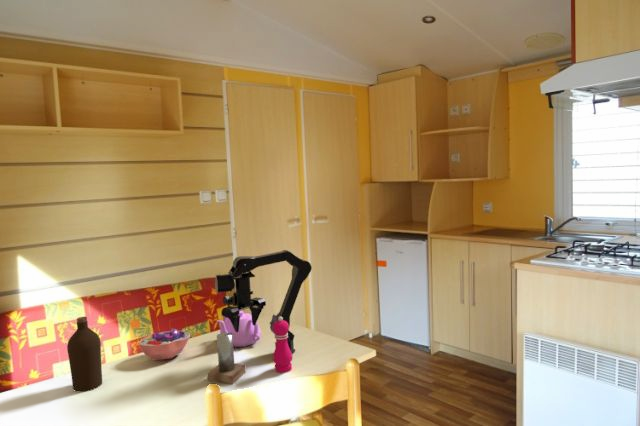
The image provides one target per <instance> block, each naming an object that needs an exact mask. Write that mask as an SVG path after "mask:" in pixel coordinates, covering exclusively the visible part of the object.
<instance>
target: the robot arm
mask: <svg viewBox="0 0 640 426" xmlns="http://www.w3.org/2000/svg"><path fill="white" fill-rule="evenodd" d="M282 262H283V263H284V262H287V263H288V264H289V265H290V266H292V269H291V280H290V283H289V286H288V287H287V291H286V294H285V296H284V299H283V302H282V304H281V306H280V310H279V312H278V313H277V314H272V317H271V321H270V322H269V325H270V326H269V327H270V331H271V332H272V334H274V335H275V332H274V331H273V325H274V323H275V322H276V321H279V320H278V317H280V316H281V317H282V318H283V320H284V321H286V322H287V323H288V324H289V327H290V326H291V314H292V312H293V309H294V306H295V303H296V301H297V298H298V296H299V293H300V290H301V287H302V285H303V283H304V282H305V281H306V279H307V278H308V277H309V275H310V273H311V271H312V265H311V263H310V262H309V261H308V260H305V259H302V258H299V257H298V256H297V255H295V254H294V253H292V252H291V251H290V250H287V249H282V250H281V251H276V252H271V253H266V254H261V255H256V256H251V255H249V256H248V255H247V256H246V255H245V256H236V257H235V258H234V259H233V262H232V266H231V268H230V269H229V271H228V272H227V273H224V274H216V275H215V280H214V281H215V282H214V286H215V287H214V288H215V292H216V294H220V293H227V292H232V291H233V290H234V289H235V291H234V292H233V293H232V294H233V295H232V296H229V295H225V296H223V297H222V303H223V305H224V306H225V307H223V308H222V309H221V316H222V317H224V316H225V317H227V319H228V318H229V319H230V321H231V323H232V325H233V327H234V329H235V332H238V330H239V322H240V316H239V311H244V310H247V309H249V311H250V313H251V315H252V324H253V325H256V322H258V319H259V318H260V315H261V313H262V310H264V309H265V306H267V304H266V299H265V298H262V297H253V298H252V295H254V291H252V290H251V278H255V277H256V274H254V273H252V271H253V270H255V269H256V268H259V267H263V266H267V265H273V264H277V263H282ZM287 333H288V338H287V343H288V346H289V348H290V350H291V353H292V355H293V354H294V353H295V352H296V349H294V348H295V347H294V345H295V344H294V339H295V336H296V335H295V334H294V333H293V332H291V331H290V329H289V330H288V332H287ZM274 343H275V345H274V346H275V348H276V341H275V342H274ZM275 348H274V349H275Z"/></svg>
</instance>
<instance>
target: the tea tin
mask: <svg viewBox="0 0 640 426" xmlns="http://www.w3.org/2000/svg"><path fill="white" fill-rule="evenodd" d="M216 345H217V347H216V348H217V365H219V371H221V372H229V371H232V370H234V368H235V366H234V364H235V355H234V354H235V352H234V351H235V350H234V347H233V334H232V333H229V332H226V333H220V332H219V333H218V334H216Z"/></svg>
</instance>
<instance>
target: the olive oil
mask: <svg viewBox="0 0 640 426" xmlns="http://www.w3.org/2000/svg"><path fill="white" fill-rule="evenodd" d="M87 319H88V317H87V316H80V317H77V318H76V328H77V329H76V330H75V332H74V333H73V334H72V335H71V337H70V338H69V339H68V342H67V346H66V347H67V348H66V349H67V354H68V355H67V356H68V361H69V362H68V363H69V368H70V374H71V382H72V389H74V390H75V392H77V391H84V392H89V391H92V390H95V389H98V388H99V387H100V386H102V384H103V370H102V366H103V365H102V341H101V339H100V336H99V334H98V333H96V332H95V331H94V330H93V329H91V328H89V325H88V320H87ZM98 386H99V387H98ZM94 388H95V389H94ZM91 389H92V390H91ZM74 390H73V391H74ZM88 390H89V391H88Z"/></svg>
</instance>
